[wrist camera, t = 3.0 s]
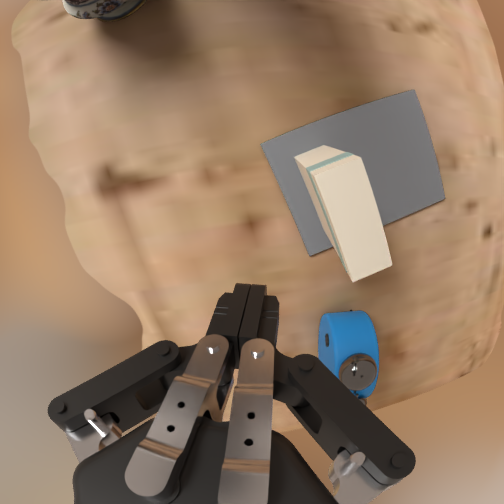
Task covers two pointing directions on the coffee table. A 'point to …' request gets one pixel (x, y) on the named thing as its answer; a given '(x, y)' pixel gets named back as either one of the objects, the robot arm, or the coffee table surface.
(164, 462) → the robot arm
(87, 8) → the apothecary jar
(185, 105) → the coffee table surface
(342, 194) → the box
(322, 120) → the mat
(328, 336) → the alarm clock
